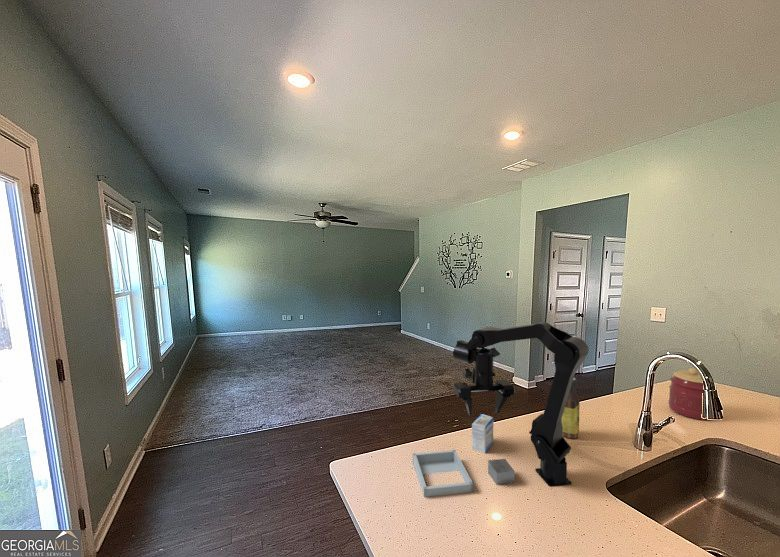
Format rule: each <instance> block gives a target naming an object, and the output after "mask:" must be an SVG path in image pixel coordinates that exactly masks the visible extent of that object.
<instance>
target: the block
mask: <svg viewBox="0 0 780 557" xmlns="http://www.w3.org/2000/svg"><path fill="white" fill-rule="evenodd" d="M487 464H488V465H487V467H488V468H487V474H488V475H489V476H490V478H491V479H492V481H493V483H495V485H496V486H498V485H500V486H501V485H509V484H510V485H511V484H515V477H516V476H515V472H516V471H515V469H513V466H511V465H510V463H509V462H508V461H507V459H506V458H498V459H488V461H487Z"/></svg>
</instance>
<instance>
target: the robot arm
mask: <svg viewBox="0 0 780 557" xmlns="http://www.w3.org/2000/svg"><path fill="white" fill-rule="evenodd" d="M529 339H537V340H539V342H541V343H542V345H543V346H545V347H546V349H547V350H549V351H550V352H551V353H553V354H554V355H553V356H554V358H553V364H554V367H555V371H554V374H553V375H554V376H553V379H552V383H551V386H550V389H549V393H548V396H547V400H546V404H545V406H544V407H545V408H544V410H543V413H540V414H539V415H538V416H536V417H535V418H534V419H533V420H532V423H531V430H530V431H529V432H528V434H530V441H531V443H532V444H533V446H534V449H535V452H536V455H537V458H538V460H540V464H539V466H540V467H538V468H535V472H536V473H537V474H538V476H539V477H540V478H541V479H542V480H543V482H544V483H545V484H547V486H548V487H551V488H552V487H561V486H570V485H572V481H571V480H570V479H569V478H568V477H567V472H568V462H567V459H566V456H567V455H568V454H570V451H571V450H572V447H571V445H570V444H569V442H567V440H566V439H565V437H564V436H563V435H562V432H563V427H562V422H561V419H562V415H563V412H564V409H565V405H566V402H567V399H568V395H569V392H570V389H571V385H572V382H573V378H575V375H576V374H577V371H578V370H579V368H580V367H581V366H582V364H583V363H584V361H585V359H586V358H587V356H588V354H589V346H588V344H587V343H586V342H585V340H583V339H581V338H580V337H577V336H573V335H571V334H570V333H568V332H566V331H564V330H561V329H559V328H557V327H555V326H553V325H551V324H550V323H548V322H546V321H541V322H537V323H530V324H525V325H518V326H513V327H504V328H502V327H501V328H500V327H493V326H492V327H490V326H486V327H483V328H479V329H477V330H474V331H473V332H472V335H471V339H470V340H469V341H465V340H462V339H459V340H457V341H456V345H455V346H454V348H453V350H452V356H453V358H454V360H458V361H460V362H463V363H467V364H473V363H474V367H472V370H471V369H470V368H462V378H463V379H468V381H469V382H470V381H471V384H474V385H468V384H467V383H466V382H464V381H463V382H462V381H461V382H454V384H453V386H452V387H453V388H452V391H453V392H454V394H455V395H456V396H457V397H458V398H459V399H461V400H462V401H464V404H465V407H466V411H467V414H468V415H469V416H470V417H471V416H472V412H473V411H472V410H473V407H472V406H473V399H472V397H471V396H472V393H482V392H493V391H494V392H495V405H494V408H495V409H494V410H495V414H497V415H498V414H499V413H500V411H501V410H502V408H503V406H504V405H505V403H506V401H507V400H508V399H509V398H512V396H513V395H515V394H516V387H515V385H513V384H512V383H511V382H510V381H509V380H508V379H497V380H495V382H494V377H495V376H496V372H494V358H496V357H498V356H500V355H501V353H500V352H499V351H498V350H497V349H496V347H492V348H488V347H490V346H494V345H496V344H499V343H504V342H513V341H521V340H529ZM494 383H495V384H494Z"/></svg>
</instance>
